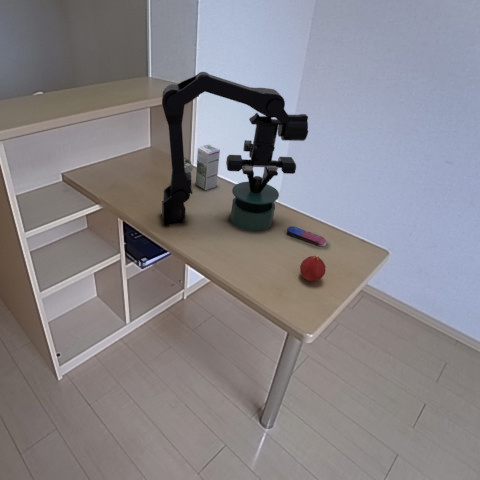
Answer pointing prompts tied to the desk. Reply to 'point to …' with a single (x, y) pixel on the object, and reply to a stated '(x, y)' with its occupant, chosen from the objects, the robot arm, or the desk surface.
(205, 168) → the syrup box
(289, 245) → the desk surface
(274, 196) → the lid
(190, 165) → the food container
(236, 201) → the pot
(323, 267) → the onion
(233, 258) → the desk surface
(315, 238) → the eraser
